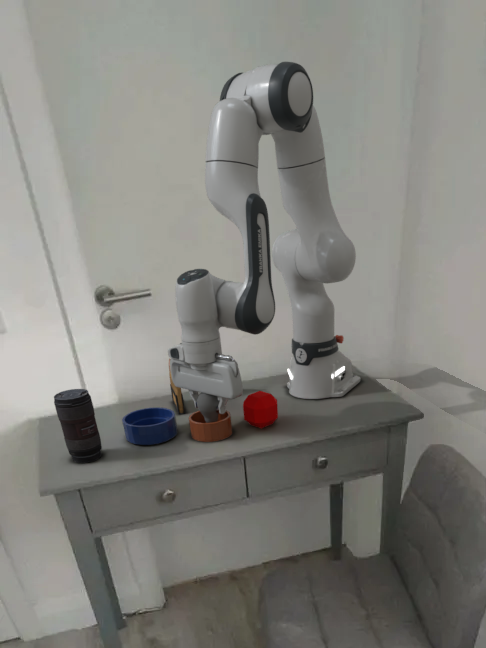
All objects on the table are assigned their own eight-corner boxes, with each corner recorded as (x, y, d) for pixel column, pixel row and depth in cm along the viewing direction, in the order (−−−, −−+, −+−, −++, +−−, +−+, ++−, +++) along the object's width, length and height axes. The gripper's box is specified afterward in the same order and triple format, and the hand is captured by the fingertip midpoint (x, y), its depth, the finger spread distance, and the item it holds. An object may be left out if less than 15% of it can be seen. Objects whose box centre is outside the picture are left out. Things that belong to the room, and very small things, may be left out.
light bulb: (197, 429, 151) (191, 389, 145) (220, 424, 153) (215, 384, 147) (205, 437, 147) (199, 396, 141) (228, 432, 149) (223, 391, 142)
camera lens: (105, 448, 147) (90, 386, 138) (103, 462, 140) (88, 397, 131) (71, 452, 146) (54, 389, 137) (68, 466, 140) (50, 401, 131)
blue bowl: (153, 423, 158) (150, 404, 155) (188, 432, 152) (185, 413, 149) (115, 439, 151) (111, 420, 148) (150, 450, 144) (146, 430, 141)
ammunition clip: (185, 413, 163) (178, 367, 155) (178, 414, 162) (171, 368, 155) (179, 400, 171) (172, 356, 164) (172, 401, 171) (165, 357, 163)
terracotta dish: (211, 423, 156) (208, 405, 153) (240, 430, 150) (239, 413, 148) (182, 436, 150) (180, 418, 147) (212, 445, 144) (210, 426, 142)
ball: (262, 416, 158) (260, 386, 153) (284, 423, 153) (282, 393, 148) (239, 425, 153) (236, 395, 149) (261, 433, 148) (258, 402, 144)
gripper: (245, 353, 135) (251, 413, 143) (181, 342, 146) (189, 399, 154) (226, 360, 131) (233, 422, 139) (162, 349, 142) (172, 407, 150)
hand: (210, 410), depth 147 cm, fingers closed on light bulb, 6 cm apart
